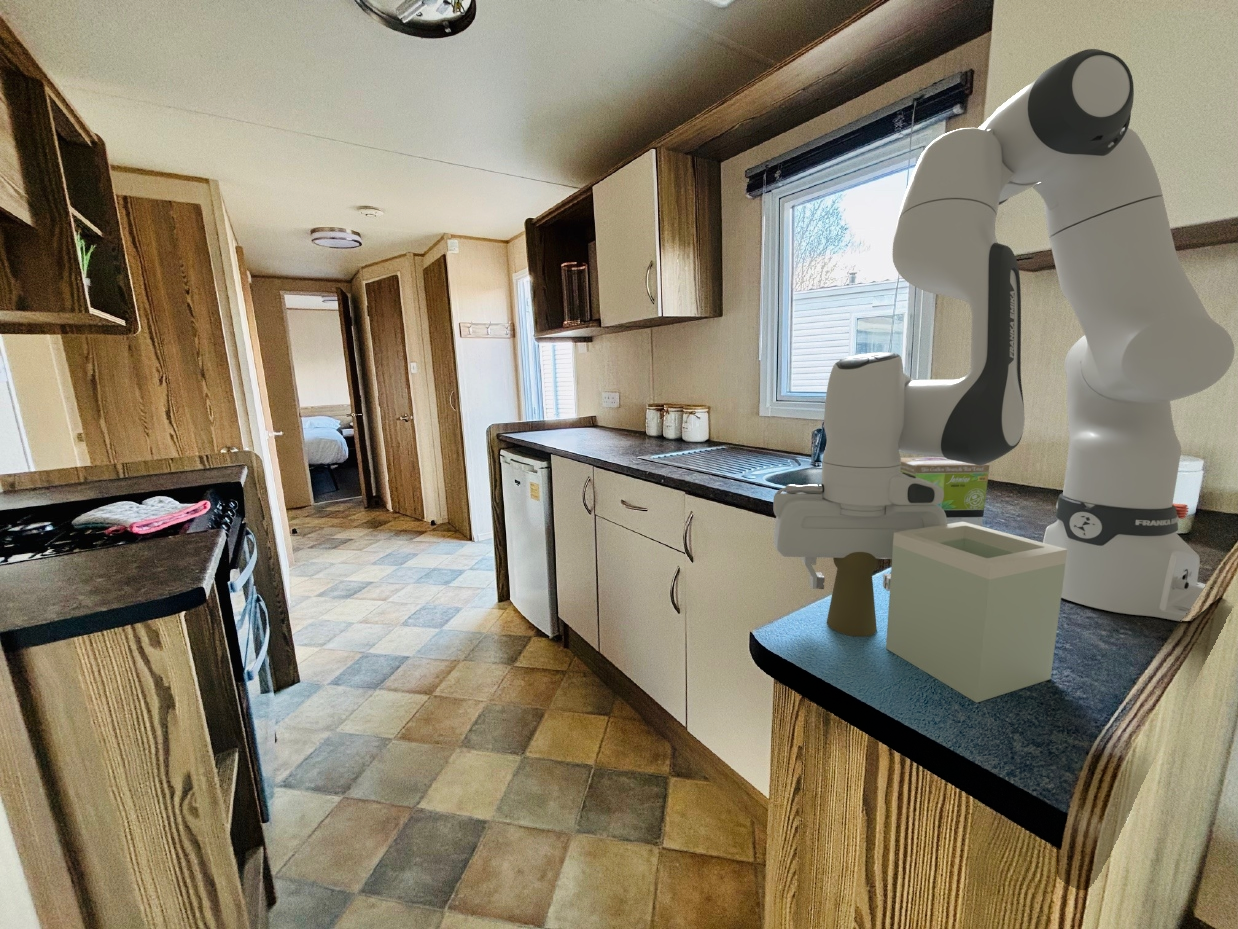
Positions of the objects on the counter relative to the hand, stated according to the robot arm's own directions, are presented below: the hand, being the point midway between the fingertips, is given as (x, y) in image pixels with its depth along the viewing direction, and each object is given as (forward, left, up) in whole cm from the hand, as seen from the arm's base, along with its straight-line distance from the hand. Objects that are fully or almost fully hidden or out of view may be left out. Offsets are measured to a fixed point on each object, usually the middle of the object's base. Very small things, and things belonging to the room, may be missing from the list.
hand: (853, 588), depth 65 cm
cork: (0, 0, -5) cm, 5 cm away
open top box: (-5, +12, -5) cm, 14 cm away
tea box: (-47, -27, -5) cm, 54 cm away
